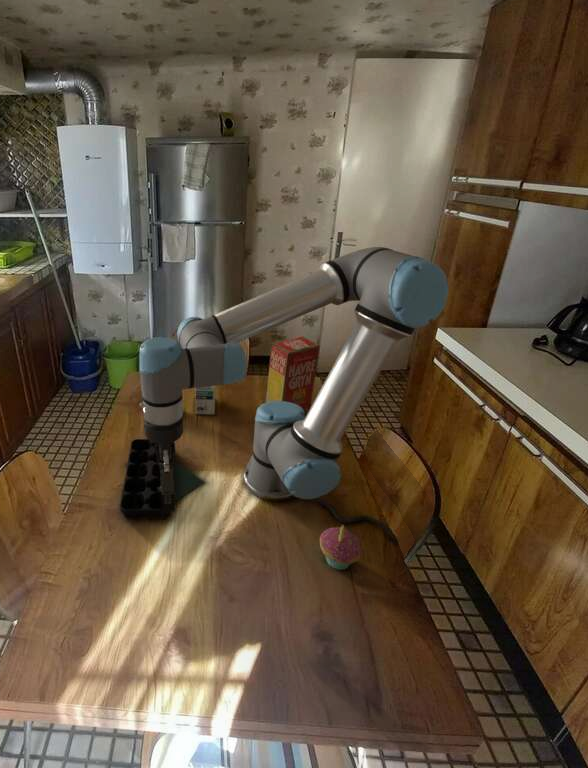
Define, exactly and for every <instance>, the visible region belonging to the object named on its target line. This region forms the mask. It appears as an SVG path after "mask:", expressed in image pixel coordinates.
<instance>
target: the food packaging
mask: <svg viewBox="0 0 588 768" xmlns="http://www.w3.org/2000/svg"><path fill="white" fill-rule="evenodd" d="M320 347H321V345H320V344H319V343H318V342H315V341H313V340H311V339H309V338H307V337H305V336H297V337H294V338H290V339H286V340H281V341H275V342H271V347H270V355H269V364H268V365H269V366H268V375H267V384H266V385H267V386H266V396H265V403H267V402H272V401H285V402H291V403H294V404H296V405H299V406H300V407H301V408H302V409H303V410H304V415H307V414H308V412H309V410H310V408H311V406H312V399H313V392H314V385H315V380H316V374H317V367H318V361H319V355H320Z"/></svg>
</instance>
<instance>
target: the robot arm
mask: <svg viewBox="0 0 588 768" xmlns="http://www.w3.org/2000/svg"><path fill="white" fill-rule="evenodd" d="M448 297H449V284H448V278H447V275H446V273H445V272H444V270H443V269H442V268H441V267H440V266H439V265H438V264H436V263H434V262H432V261H430V260H427V259H425V258H424V257H420V256H418V255H412V254H408V253H405V252H401V251H398V250H393V249H392V248H388V247H384V246H373V247H365V248H362V249H358V250H355V251H351V252H349V253H346V254H344V255H341V256H338V257H336V258H332V259H331V260H328V261H326V262H324V263H322V264H321V265H320V266H319V269H318V270H316V271H314V272H313V273H310V274H307V275H305V276H302V277H300V278H298V279H295V280H293V281H290V282H288V283H286V284H284V285H281V286H279V287H277V288H274V289H272V290H270V291H269V290H268V291H267V292H265V293H262V294H260V295H257V296H255V297H253V298H250V299H248V300H246V301H244V302H241V303H239V304H236V305H233V306H231V307H229V308H227V309H224V310H222V311H220V312H218V313H215V314H213V315H210V316H208V317H205V318H201V317H198V316H189V317H187V318H185V319H184V320H182V322H181V323H180V324H179V326H178V327H177V333H176V335H177V336H176V337H177V339H175V338H173V337H169V336H168V337H164V336H157V337H151V338H149V339H146V340H145V341H144V342H143V343H141V345H140V346H139V351H138V352H139V355H138V356H139V365H138V367H139V376H140V377H139V379H140V387H141V398H142V402H140V403H139V408H140V409H142V412H143V429H144V436H145V438H146V439H148V440H150V441H152V442H154V443H155V454H156V455H157V464H158V466H159V468H160V475H161V478H160V481H161V484H160V487H158V492H160V491H161V502H162V513H164V512H171V513H173V512H175V502H174V482H176V477H173V468H174V465H173V464H174V463H175V462H176V460H175V455H176V443H175V444H174V442H177V441H178V440H179V439H180V438H181V437H182V436H183V434H184V418H183V416H184V404H183V403H184V402H183V401H184V400H183V390H189V389H190V390H191V389H195V388H198V387H207V386H215V387H216V386H226V385H229V384H234V383H239V382H240V383H241V382H242V381H243V380H244V379H245V377H246V375H247V358H246V353H245V350H244V349H243V346H242V345H241V344H239V343H241V342H242V341H245V340H247V339H249V338H252V337H254V336H257V335H259V334H261V333H263V332H266V331H269V330H271V329H274V328H277V327H278V326H280V325H283V324H285V323H288V322H290V321H292V320H295V319H298V318H300V317H302V316H304V315H307V314H309V313H313V312H314V311H317V310H320V309H321V308H323V307H326V306H328V305H331V304H332V305H335V306H340V305H342V304H344V303H347V302H355V301H356V302H358V303H357V304H356V306H355V307H354V310H353V312H354V316H355V319H356V323H355V325H354V327H353V328H352V330H351V332H350V334H349V336H348V338H347V340H346V342H345V343H344V345H343V347H342V348H341V351H340V353H339V354H338V356H337V358H336V360H335V362H334V364H333V365H332V367H331V369H330V371H329V373H328V375H327V377H326V379H325V380H324V383H323V384H322V385H321V388H320V389H319V392H318V393H317V395H316V397H315V399H314V401H313V402H312V403H311V406H310V410H309V412H308V413H306V415H305V414H304V410H303V409H302V408H301V407H300V406H299V405H296V404H294V403H291V402H285V401H272V402H267V403H266V402H264V403H262V404H261V405H260V406H258V408H256V409H257V410H256V412H255V413H256V414H255V417H254V433H253V447H252V455H251V457H250V459H249V461H248V463H247V465H246V466H245V469H244V471H243V472H244V473H243V483H244V485H245V488H246V489H247V490H248V491H249V492H250V493H251V494H253V495H254V496H256V497H257V498H260V499H262V500H265V501H270V502H286V501H289V500H292V499H294V498H298V499H302V500H314V501H316V502H317V503H320V504H321V505H323V506H325V507H326V508H327V509H328V510H329V511H330V512H331V514H332V515H333V516H334V518H335V519H336V520H337V521H339V522H341V523H344V524H353V523H357V522H359V521H368V522H371V523H374V524H376V525H378V526H380V527H381V528H383V529H384V530H385V531H386V532H387V533H388V535H389V536H390V537H391V539H392V540H393V542H395V543H399V539H398V538H397V536H396V535H395V534H394V532H393V531H392V529H390V527H388V526H387V525H386V524H385V523H384V522H382V521H380V520H379V519H377V518H374V517H372V516H367V515H358V516H357V517H354V518H350V519H348V518H347V519H346V518H344V517H341V516H340V515H339V514H338V513H337V511H336V510H335V508H334V507H333V506H332V505H331V504H330V503H328V502H327V501H325V500H323V499H321V498H319V497H322V496H325V495H327V494H328V493H331V492H332V491H333V490H334V489H335V488H336V486H338V484H339V482H340V480H341V477H342V473H341V468H340V466H339V465H338V463H337V462H338V460H339V458H340V457H341V455H342V454H343V451H344V446H343V445H344V444H343V443H342V439H343V437H344V435H345V433H346V431H347V430H348V427H349V426H350V425H351V423H352V421H353V419H354V418H355V416H356V414H357V413H358V411H359V409H360V408H361V405H362V404H363V402H364V401H365V399H366V398H367V395H368V394H369V392H370V391H371V389H372V387H373V385H374V383H375V382H376V380H377V378H378V377H379V375H380V373H381V372H382V370H383V368H384V366H385V364H386V362H387V361H388V359H389V358H390V356H391V354H392V353H393V351H394V349H395V347H396V346H397V344H398V342H399V341H400V340H403V339H406V338H409V337H411V336H412V335H413V333H414V331H415V330H416V328H423V327H425V326H428V325H429V323H430V322H434V321H435V320H436V319H437V318H438V317H439V316H440V315H441V313H442V312H443V310H444V308H445V306H446V303H447V301H448ZM174 454H175V455H174Z"/></svg>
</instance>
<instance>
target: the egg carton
mask: <svg viewBox="0 0 588 768" xmlns="http://www.w3.org/2000/svg"><path fill="white" fill-rule="evenodd" d="M175 442H176V441H174V444H175V445H176V443H175ZM175 455H176V453H175V454H174V456H175ZM173 465H174V464H173ZM124 475H125V476H124V479H123V486H122V492H121V497H120V502H119V511H120V513H121V514H122V516H123V517H124V519H126V520H138V519H141V518H142V517H144V515H149V516H150V518H151V519H153V520H167V519H169V518H170V517H171V514H172V512H164V513H162V502H161V491H160V492H158V487H160V484H161V481H160V478H161V475H160V468H159V466H158V464H157V455H156V454H155V443H154V442H152V441H150V440H148V439H147V438H136V439H134V440H132V441H131V443H130V448H129V453H128V459H127V464H126V469H125V474H124ZM173 477H174V468H173Z"/></svg>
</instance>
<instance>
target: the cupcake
mask: <svg viewBox="0 0 588 768" xmlns="http://www.w3.org/2000/svg"><path fill="white" fill-rule="evenodd" d="M319 546H320V549H321V552H322V554H323V555H324V556H325V560H326V562H327V564H328V565H329V566H330V567H332V568H333V569H336V570H339V571H340V570H341V571H342V570H346V569H347V568H348V567H350V565H351V564H354V563H356V562H358V561H359V560H360V557H361V555H362V552H363V546H362V544H361V541H360V539H359V537H358V536H357V535H355V534H354V533H353V532H352V531H350V530H349V529H346V528H345V526H344V524H342V525H341V526H340V527H339V526H337V527H336V526H335V527H334V526H333V527H328V528H326V529H325V530H323V532H322V533H321V535H320V536H319Z"/></svg>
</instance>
